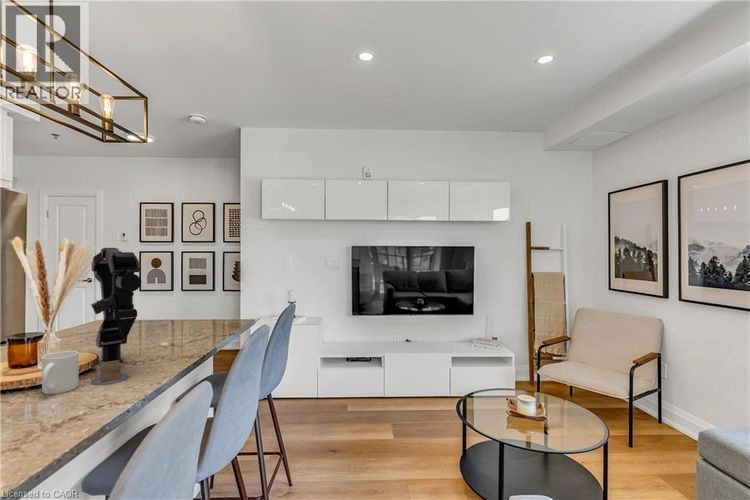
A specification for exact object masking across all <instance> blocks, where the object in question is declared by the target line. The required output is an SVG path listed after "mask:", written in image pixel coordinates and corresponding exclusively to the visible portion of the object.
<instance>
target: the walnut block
mask: <svg viewBox="0 0 750 500" xmlns="http://www.w3.org/2000/svg"><path fill="white" fill-rule="evenodd" d="M121 364H122V362H120V361H119V360H116V361H109V362H103V363H101V362H100V363H99V367H100V369H99V375H100V380H101V383H104V382H109V381H115V380H120V379H121V374H122V366H121Z"/></svg>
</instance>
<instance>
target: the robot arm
mask: <svg viewBox="0 0 750 500" xmlns="http://www.w3.org/2000/svg"><path fill="white" fill-rule="evenodd" d="M137 257H138V256H137V255H135V252H134V251H133V252H131V251H130V252H129V251H125V252H123V251H121V250H120V249H119V248H117V247H103V248H101V249H100V252H99V253H97V254H96V255H94V256H93V258H92V261H93V262H91V272H93V276H94V278H95V279H96V280H97V282H99V285H100V293H101V299H99V300H96V302H93V303H91V304H90V306H91V308H92V310H93V312H94V314H95V315H98V314H101V313H102V315H103V320H102V323H101V324H100V326H99V328H98V329H99V330H98V332H97V334H96V338H95V344H96V347H97V348H99V349H100V348H101V359H100V360H99V362H100V363H103V362H109V361H116V360H119V361H120V363H122V362H123V361H124V360H123V357H122V356H121V355H122V354H121V353H122V345H126V344H127V343H128V336H129V333H130V331H131V329H132V328H133V325H134V323H135V321H136V319H137V317H138V310H137V309H136V308H135V307H134V305H135V304H134V300H133V299H134V294H135V293H134V292H136V291H137V290H138V289H140V287H141V285H142V280H141V277H140V276H138V275H137V274H135V273H140V270H141V265H140V262H139V259H138V258H137Z"/></svg>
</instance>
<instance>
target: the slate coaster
mask: <svg viewBox="0 0 750 500" xmlns="http://www.w3.org/2000/svg"><path fill="white" fill-rule="evenodd" d="M129 378H130V375H129V374H125V373H121V379H120V380H115V381H109V382H104V383H101V380H100V377H96V378H95V379H92V380H91V381H90V384H91V385H93V386H106V385H112V384H113V385H114V384H117V383H120V382H121V383H122V382H123V381H126V380H128V379H129Z"/></svg>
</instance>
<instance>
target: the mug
mask: <svg viewBox="0 0 750 500" xmlns="http://www.w3.org/2000/svg"><path fill="white" fill-rule="evenodd" d="M79 357H80V356H79V351H76V350H65V351H64V350H63V351H56V352H51V353H48V354H45V355H43V356H42V357H41V391H42V393H43V394H45V395H59V394H64V393H68V392H70V391H74V390H75V389H76V388H78V387H79V384H80V383H79V377H80V374H79V373H80V372H79V366H80V365H79V364H80V363H79V362H80V361H79V360H80V359H79Z"/></svg>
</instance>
